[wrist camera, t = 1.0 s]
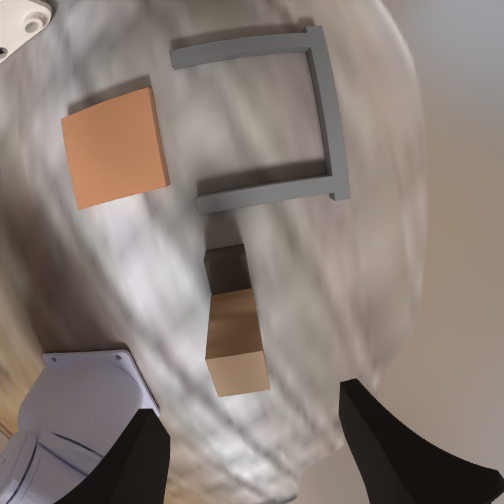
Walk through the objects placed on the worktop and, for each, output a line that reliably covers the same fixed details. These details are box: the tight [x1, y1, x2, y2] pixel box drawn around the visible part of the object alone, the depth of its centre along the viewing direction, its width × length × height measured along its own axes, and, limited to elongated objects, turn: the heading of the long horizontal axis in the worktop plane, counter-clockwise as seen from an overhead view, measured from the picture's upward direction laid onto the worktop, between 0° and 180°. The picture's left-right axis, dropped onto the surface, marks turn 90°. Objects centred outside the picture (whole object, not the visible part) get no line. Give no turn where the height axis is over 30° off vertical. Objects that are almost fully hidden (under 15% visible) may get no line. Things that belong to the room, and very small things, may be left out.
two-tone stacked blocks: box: [204, 244, 270, 397], centre depth 16 cm, size 2×7×8 cm, turn 9°
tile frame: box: [170, 26, 350, 215], centre depth 16 cm, size 9×11×1 cm
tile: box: [61, 87, 170, 210], centre depth 16 cm, size 6×6×2 cm
